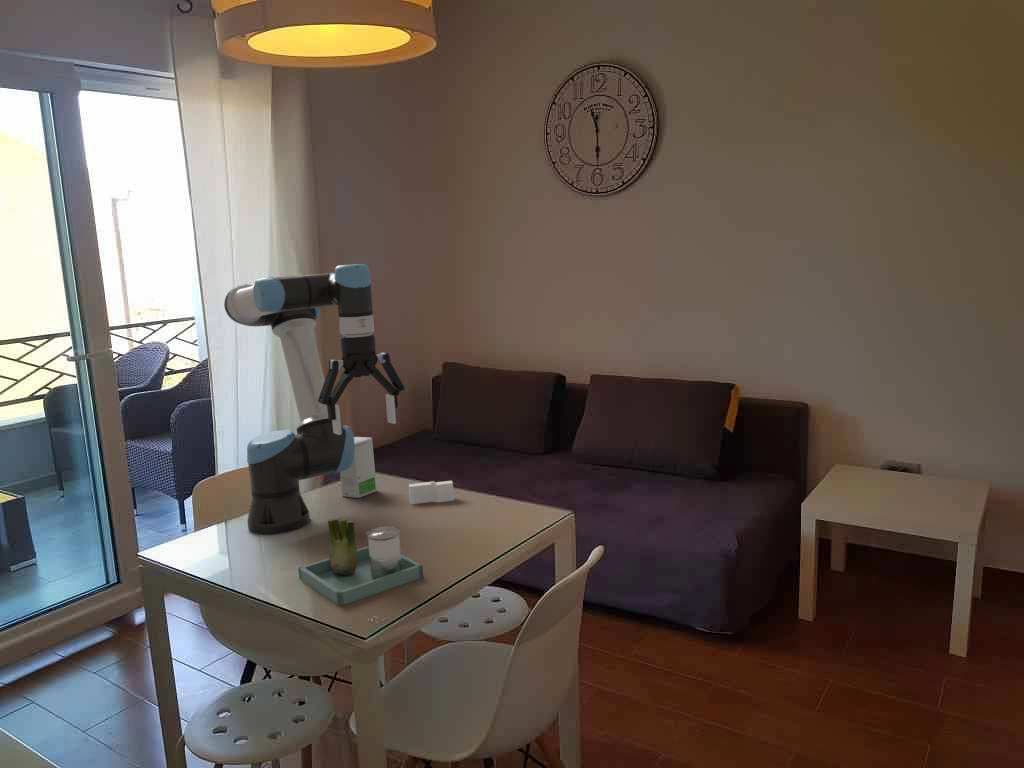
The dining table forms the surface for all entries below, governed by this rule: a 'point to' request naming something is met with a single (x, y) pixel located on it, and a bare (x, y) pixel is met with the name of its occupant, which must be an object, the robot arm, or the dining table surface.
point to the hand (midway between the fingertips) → (365, 428)
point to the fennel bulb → (342, 547)
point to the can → (384, 551)
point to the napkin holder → (431, 492)
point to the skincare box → (360, 471)
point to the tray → (356, 578)
